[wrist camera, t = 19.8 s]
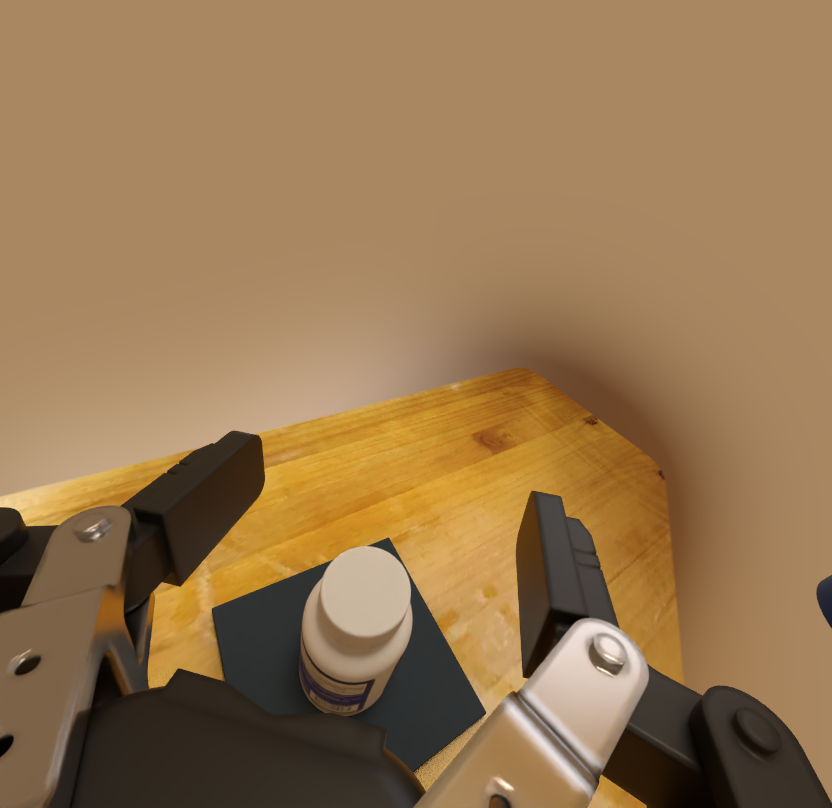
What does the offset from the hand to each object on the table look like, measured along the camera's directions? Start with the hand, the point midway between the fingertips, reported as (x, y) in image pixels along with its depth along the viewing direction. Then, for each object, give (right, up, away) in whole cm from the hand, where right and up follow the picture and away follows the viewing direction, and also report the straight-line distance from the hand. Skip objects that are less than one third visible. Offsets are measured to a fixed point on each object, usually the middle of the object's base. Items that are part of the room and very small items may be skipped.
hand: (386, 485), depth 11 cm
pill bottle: (-3, -12, +11) cm, 17 cm away
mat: (-3, -13, +11) cm, 17 cm away
